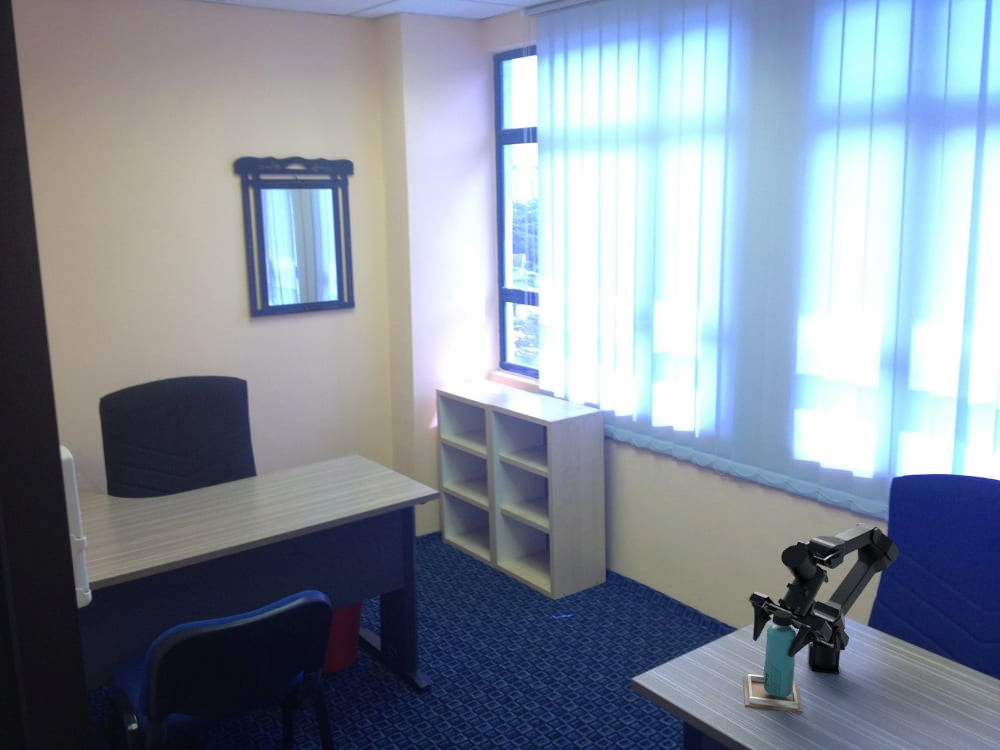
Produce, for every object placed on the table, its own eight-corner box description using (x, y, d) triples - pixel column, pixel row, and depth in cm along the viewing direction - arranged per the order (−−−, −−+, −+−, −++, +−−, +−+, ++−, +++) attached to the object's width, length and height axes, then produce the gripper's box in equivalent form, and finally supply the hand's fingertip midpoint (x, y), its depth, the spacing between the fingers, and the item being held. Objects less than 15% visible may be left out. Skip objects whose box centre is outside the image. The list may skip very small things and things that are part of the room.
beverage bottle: (798, 700, 201) (805, 617, 197) (774, 706, 199) (780, 622, 194) (779, 685, 207) (785, 604, 203) (755, 691, 205) (761, 609, 200)
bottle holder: (797, 684, 208) (797, 677, 208) (802, 713, 197) (802, 706, 196) (743, 677, 211) (743, 671, 210) (745, 706, 199) (745, 699, 199)
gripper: (853, 619, 202) (821, 681, 198) (782, 590, 217) (750, 647, 212) (836, 596, 196) (803, 659, 191) (764, 568, 210) (731, 626, 206)
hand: (771, 648), depth 200 cm, fingers open, 9 cm apart
